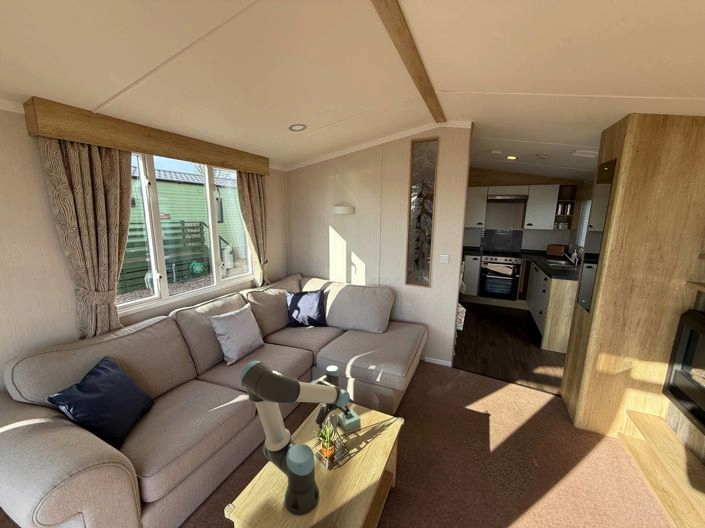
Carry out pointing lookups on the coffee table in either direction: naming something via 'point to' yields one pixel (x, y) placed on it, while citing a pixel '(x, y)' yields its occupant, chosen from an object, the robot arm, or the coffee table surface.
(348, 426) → the teal collar block
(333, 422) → the long steel pin
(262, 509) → the coffee table surface
